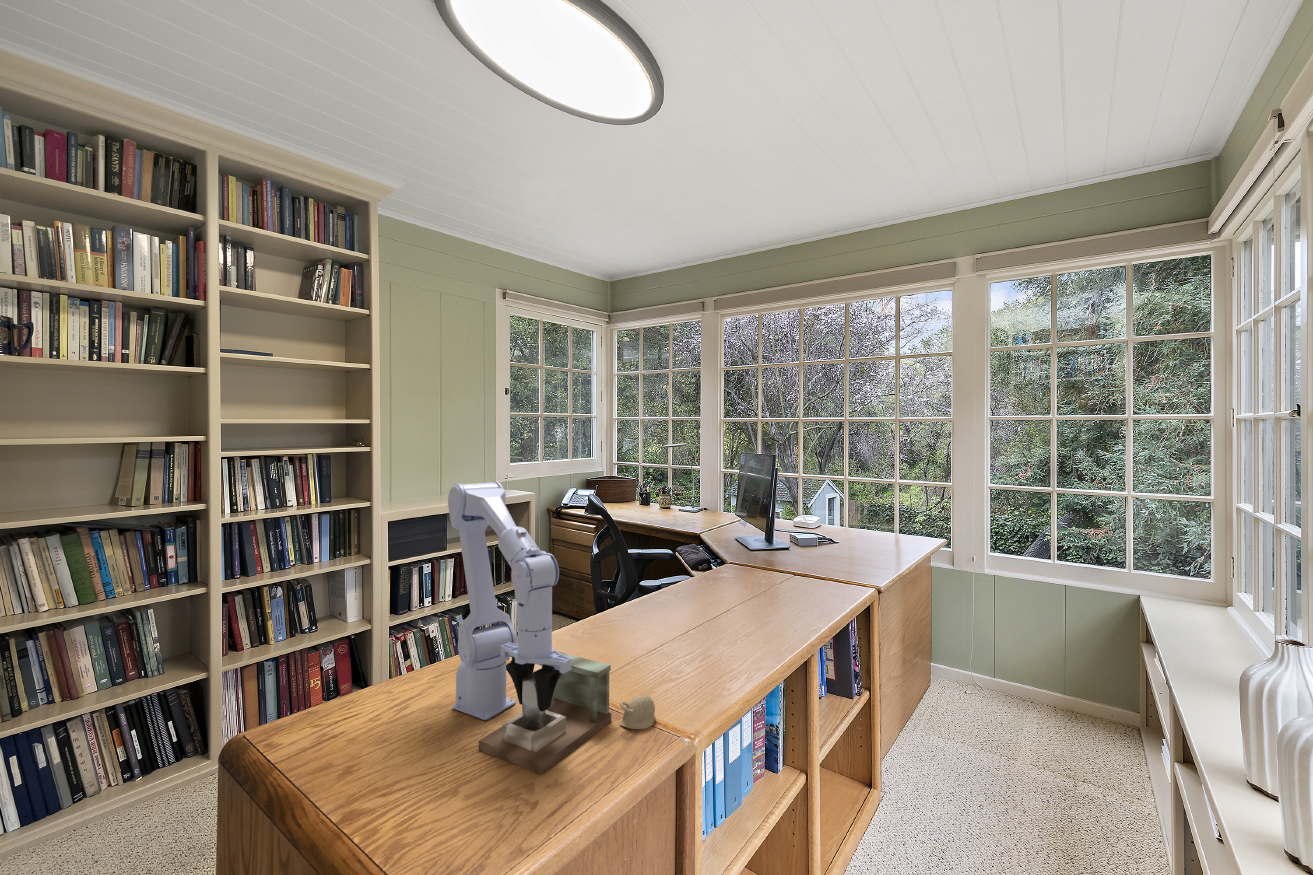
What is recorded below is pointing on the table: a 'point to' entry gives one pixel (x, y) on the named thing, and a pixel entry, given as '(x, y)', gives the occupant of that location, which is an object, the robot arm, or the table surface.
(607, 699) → the socket stand
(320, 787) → the table surface
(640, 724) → the decorative ornament
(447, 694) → the table surface
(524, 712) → the steel peg
